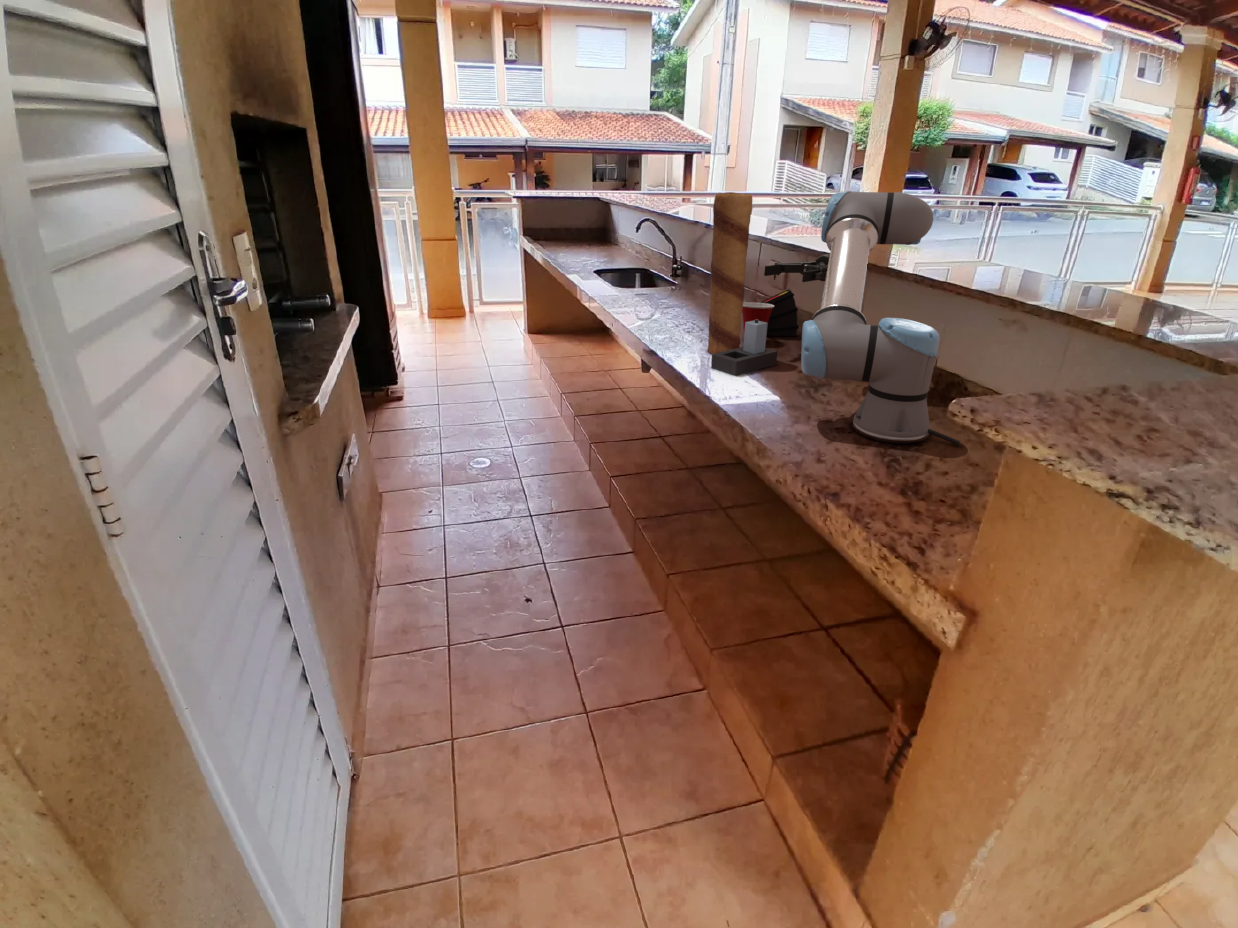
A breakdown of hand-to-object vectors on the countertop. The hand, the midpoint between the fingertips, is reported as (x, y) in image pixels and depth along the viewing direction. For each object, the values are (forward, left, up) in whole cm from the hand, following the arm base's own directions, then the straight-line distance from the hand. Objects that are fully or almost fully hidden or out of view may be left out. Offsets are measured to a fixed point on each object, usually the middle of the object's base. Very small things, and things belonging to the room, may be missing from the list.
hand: (784, 274), depth 172 cm
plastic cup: (+18, -11, -25) cm, 32 cm away
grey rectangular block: (0, +10, -24) cm, 26 cm away
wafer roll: (+15, +7, -25) cm, 29 cm away
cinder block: (0, +13, -24) cm, 28 cm away
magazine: (+18, -22, -25) cm, 37 cm away
